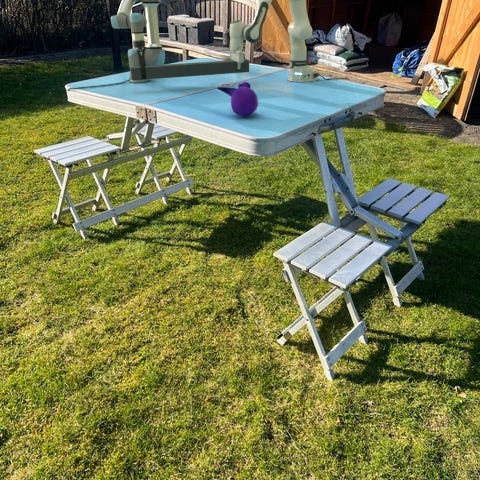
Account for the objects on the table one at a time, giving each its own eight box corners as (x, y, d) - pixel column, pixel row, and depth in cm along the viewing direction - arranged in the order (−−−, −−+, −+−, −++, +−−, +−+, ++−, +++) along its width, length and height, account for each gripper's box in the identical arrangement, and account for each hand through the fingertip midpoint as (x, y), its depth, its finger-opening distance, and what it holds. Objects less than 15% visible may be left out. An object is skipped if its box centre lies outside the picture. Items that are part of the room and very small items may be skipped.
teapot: (225, 72, 362) (225, 52, 354) (219, 70, 371) (218, 51, 363) (248, 69, 371) (248, 50, 364) (241, 67, 380) (241, 48, 372)
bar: (132, 80, 296) (130, 68, 292) (131, 78, 300) (129, 66, 296) (249, 72, 316) (249, 60, 312) (246, 70, 320) (246, 59, 316)
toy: (241, 106, 267) (257, 123, 246) (213, 101, 259) (228, 118, 239) (248, 79, 259) (266, 94, 238) (220, 73, 251) (235, 89, 231)
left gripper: (146, 41, 281) (151, 80, 293) (142, 38, 296) (147, 74, 308) (134, 42, 279) (139, 81, 291) (131, 38, 294) (136, 75, 306)
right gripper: (245, 48, 300) (246, 70, 307) (236, 44, 317) (237, 65, 324) (236, 49, 298) (237, 70, 305) (228, 45, 315) (229, 66, 322)
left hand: (143, 77), depth 300 cm, fingers closed on bar, 6 cm apart
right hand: (237, 68), depth 315 cm, fingers closed on bar, 5 cm apart
